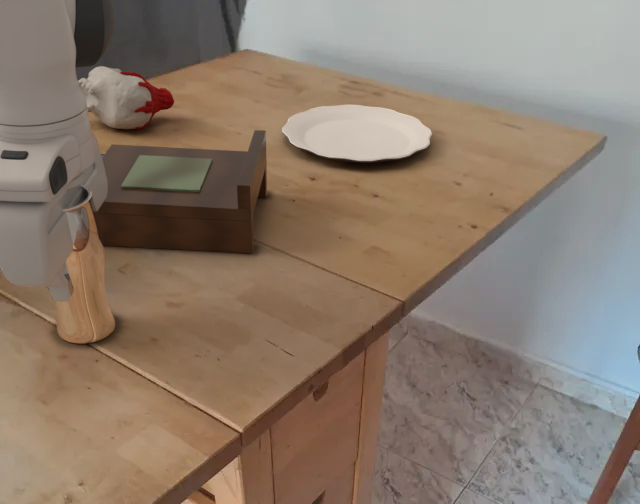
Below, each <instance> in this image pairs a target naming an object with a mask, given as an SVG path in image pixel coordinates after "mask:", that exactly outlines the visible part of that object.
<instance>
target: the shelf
mask: <svg viewBox="0 0 640 504" xmlns="http://www.w3.org/2000/svg"><path fill="white" fill-rule="evenodd" d="M104 154H105V155H104V156H103V158H102V160H103V164H104V168H105V172H106V177H107V182H108V193H107V197H106V199H105V200H104V202H103V203H102V205H101V207H100V208H99V210H98V211H97V214H98V218H99V222H100V226H101V231H102V236H103V243H104V247H105V246H107V247H123V248H124V247H126V248H143V249H162V250H181V251H195V252H196V251H198V252H213V253H214V252H215V253H217V252H218V253H232V254H233V253H236V254H253V253H254V249H255V238H254V213H255V208H256V206H257V201H258V198H267V195H268V169H267V166H268V164H267V160H268V159H267V131H266V130H260V129H259V130H258V129H255V130H254V131H253V133H252V136H251V140H250V143H249V146H248V149H247V151H245V150H225V149H207V148H191V147H190V148H187V147H171V146H169V147H168V146H149V145H131V144H113V143H112V144H111V145H110V146H109V148H108V149H107V150H106V152H105V153H104Z"/></svg>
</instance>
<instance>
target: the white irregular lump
mask: <svg viewBox="0 0 640 504" xmlns="http://www.w3.org/2000/svg"><path fill="white" fill-rule="evenodd" d="M78 83H79V86H80V88H81V90H82V92H83V94H84V97H85V99H86V103H87V108H88V113H92V114H93V115H94V116H95V118H96V119H98V120H99V121H100V122H101V123H103V124H104V125H106V126H107V127H109V128H111V129H118V130H137V131H140V130H142V129H144V128H146V127H147V126H149V124H150V122H151V121H152V120H153V117H154V116H155V115H156V114H157V113H159V112H160V111H165V110H169V109H171V108H173V105H174V104H175V99H174V97H173V94H172V93H171V92H170V91H169V90H168V89H167V88H165V87H160V88H158V87H156V86H154V85H152V84H151V83H150V82H149V81H147V79H145V78H144V77H143V75H142V74H140V73H137V72H134V71H132V72H131V71H122V70H121V69H119V68H112V67H107V66H105V65H104V66H103V65H100V66H96V67H94V68H93V69H91V70H90V71H89V72H88V77H87V78H85V77H82V78H80V79H79V80H78Z"/></svg>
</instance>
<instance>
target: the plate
mask: <svg viewBox="0 0 640 504" xmlns="http://www.w3.org/2000/svg"><path fill="white" fill-rule="evenodd" d="M281 133H282V135H283V136H285V137H286V138H287V139H288V141H289V144H290V145H292V146H293V147H294V148H296V149H299V150H301V151H305V152H307V153H311V154H313V155H315V156H317V157H319V158H324V159H327V160H331V161H336V162H337V161H338V162H344V163H352V164H377V163H384V162H390V161H400V160H403V159H408V158H409V157H411V156H413V155H414V154H416V153H419V152H422V151H425V150H426V149H428V148H429V147H430V146H431V138H432V136H433V132H432V130H431V129H430V127H428V126H426V125H424V124H423V123H422V121H421V120H420V119H419V118H417V117H415V116H414V115H413V116H412V115H410V114H406V113H402V112H399V111H397V110H394V109H391V108H386V107H381V106H368V105H361V104H339V105H324V106H322V105H321V106H317V107H311V108H310V109H307V110H305V111H301V112H297V113H294V114H293V115H291V116H290V117H288V118H287V122H286V123H285V124H284V125H283V126H282V127H281Z"/></svg>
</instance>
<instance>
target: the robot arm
mask: <svg viewBox="0 0 640 504" xmlns="http://www.w3.org/2000/svg"><path fill="white" fill-rule="evenodd" d="M115 26H116V9H115V3H114V0H0V270H1V272H2V274H3V276H4V277H5V279H6V280H7V281H8V282H9V283H11V284H12V285H13V286H16V287H23V288H24V287H26V288H48V287H49V289H48V291H49V290H50V292H49V294H50V296H51V299H52V301H53V300H55V301H62V302H67V301H69V300H70V298H71V296H72V294H73V292H74V289H73V287H72V281H71V279H66V277H65V275H64V274H63V271H64V269H65V268H64V263H65V262H66V260H67V258H68V257H69V255H70V254H71V252H72V250H73V242H72V238H71V233H70V229H69V224H68V219H67V215H66V212H62V209H64V208H68V207H72V206H75V205H77V204H80V203H81V202H83V201H84V200H85V199H86V197H85V194H84V190H83V188H82V187H80V185H81V184H82V185H85V186H87V187H88V188H89V189H90V190H91V192H92V197H93V201H94V204H95V207H96V211H98V210H99V208H100V207H101V205H102V203H103V202H104V200H105V199H106V197H107V193H108V182H107V177H106V172H105V168H104V164H103V160H102V156H101V154H102V153H101V148H100V145H99V142H98V140H97V137H96V135H95V134H94V133H93V131H92V126H91V120H90V113H89V112H88V108H87V103H86V99H85V97H84V94H83V92H82V90H81V88H80V86H79V83H78V81H79V80H78V77H77V71H76V68H86V67H94V66H95V65H96V64H97V63H98V62H99V61H100V59H101V58H102V57H103V56H104V54H105V52H106V50H107V49H108V46H109V45H110V42H111V39H112V38H113V37H112V36H113V34H114V31H115Z"/></svg>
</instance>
